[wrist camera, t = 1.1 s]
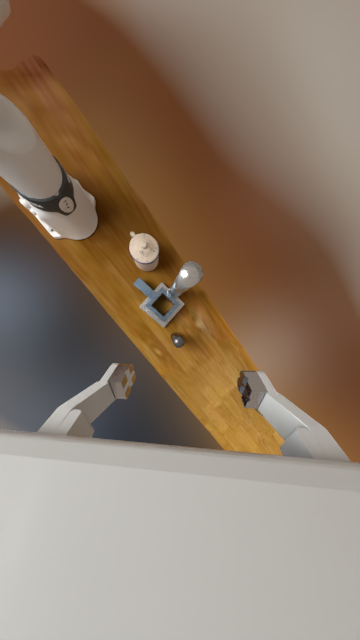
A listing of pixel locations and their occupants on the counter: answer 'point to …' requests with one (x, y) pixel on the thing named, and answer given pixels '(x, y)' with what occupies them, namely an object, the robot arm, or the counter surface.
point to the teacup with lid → (144, 251)
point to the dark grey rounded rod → (177, 340)
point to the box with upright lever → (170, 292)
